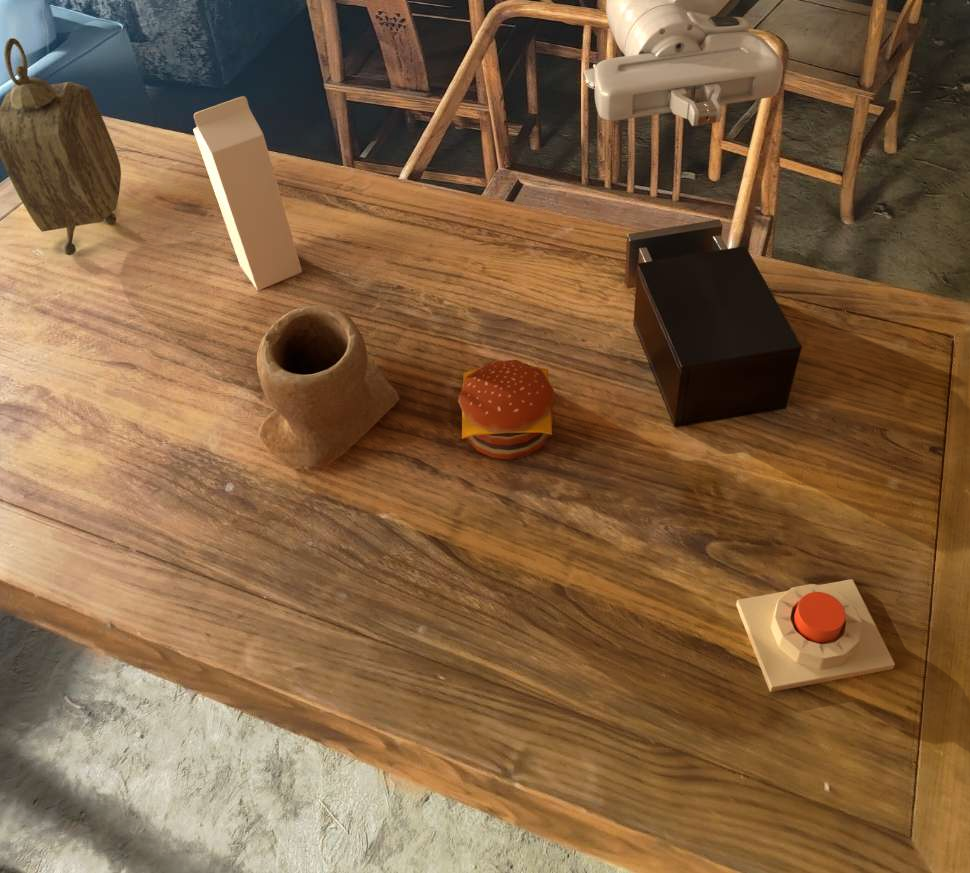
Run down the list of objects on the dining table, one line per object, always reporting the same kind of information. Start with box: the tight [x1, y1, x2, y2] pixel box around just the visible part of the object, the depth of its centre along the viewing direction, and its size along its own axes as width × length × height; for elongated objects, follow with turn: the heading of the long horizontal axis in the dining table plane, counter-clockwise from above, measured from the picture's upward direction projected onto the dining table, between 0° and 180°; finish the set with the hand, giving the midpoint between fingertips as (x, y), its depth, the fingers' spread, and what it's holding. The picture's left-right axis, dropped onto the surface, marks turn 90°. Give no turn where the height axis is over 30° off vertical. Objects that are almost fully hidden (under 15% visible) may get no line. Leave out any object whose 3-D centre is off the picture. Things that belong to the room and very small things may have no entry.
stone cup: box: [256, 304, 400, 472], centre depth 90 cm, size 15×12×15 cm
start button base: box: [735, 579, 896, 693], centre depth 75 cm, size 10×8×4 cm
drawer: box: [624, 218, 729, 290], centre depth 100 cm, size 16×10×7 cm, turn 9°
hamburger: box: [457, 359, 556, 460], centre depth 92 cm, size 9×10×7 cm
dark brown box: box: [632, 245, 803, 428], centre depth 95 cm, size 16×12×9 cm
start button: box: [794, 592, 846, 643], centre depth 73 cm, size 4×4×2 cm
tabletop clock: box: [0, 37, 122, 256], centre depth 113 cm, size 14×9×25 cm, turn 10°
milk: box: [192, 95, 303, 291], centre depth 106 cm, size 6×6×22 cm
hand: (707, 118), depth 96 cm, fingers closed
